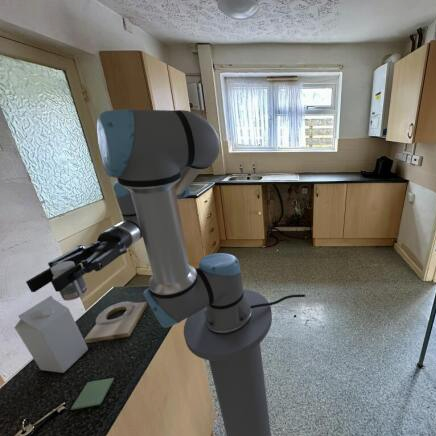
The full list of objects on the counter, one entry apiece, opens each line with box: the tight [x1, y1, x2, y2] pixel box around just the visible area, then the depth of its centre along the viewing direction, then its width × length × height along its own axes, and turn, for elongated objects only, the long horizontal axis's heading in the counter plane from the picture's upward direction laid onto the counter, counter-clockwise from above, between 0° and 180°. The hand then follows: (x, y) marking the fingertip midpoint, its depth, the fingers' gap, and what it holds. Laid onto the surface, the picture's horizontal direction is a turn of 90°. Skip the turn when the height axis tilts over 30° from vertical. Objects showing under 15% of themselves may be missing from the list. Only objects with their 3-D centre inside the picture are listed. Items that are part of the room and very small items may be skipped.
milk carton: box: [14, 295, 89, 374], centre depth 62 cm, size 7×7×19 cm
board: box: [83, 300, 149, 344], centre depth 78 cm, size 14×16×2 cm
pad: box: [70, 377, 115, 411], centre depth 56 cm, size 6×6×1 cm
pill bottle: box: [51, 261, 89, 302], centre depth 56 cm, size 5×5×8 cm
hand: (42, 286), depth 50 cm, fingers closed on pill bottle, 5 cm apart
